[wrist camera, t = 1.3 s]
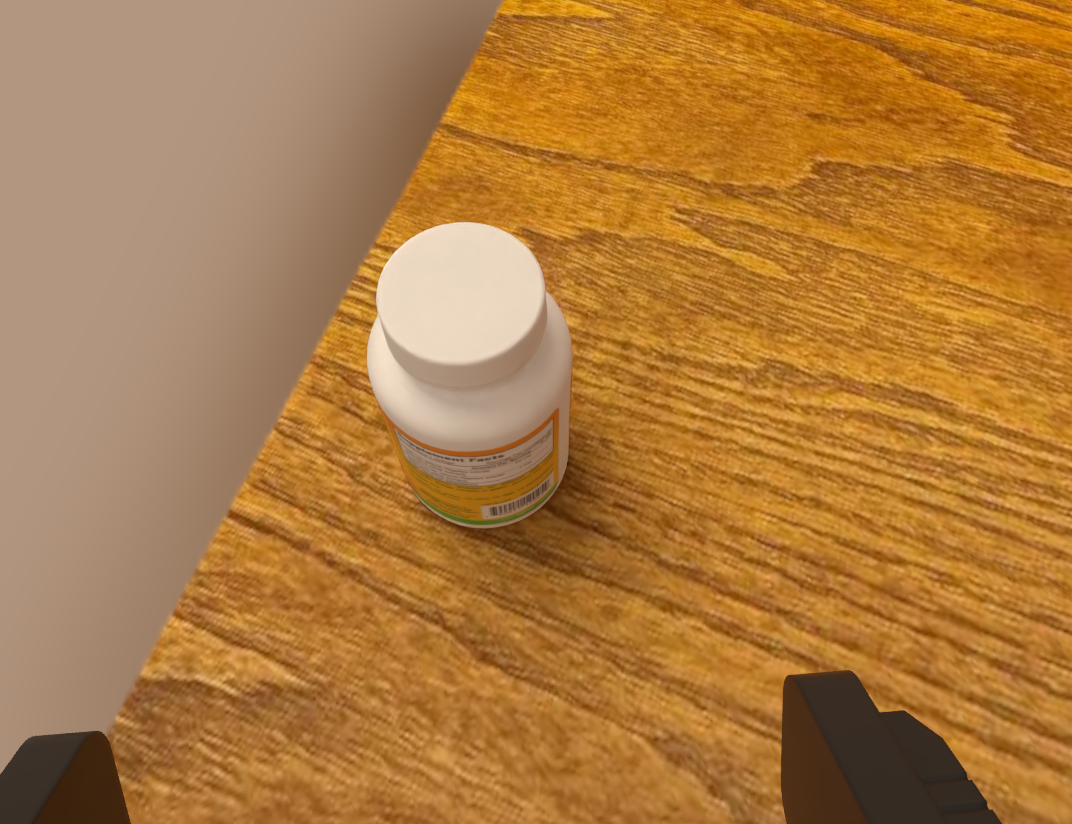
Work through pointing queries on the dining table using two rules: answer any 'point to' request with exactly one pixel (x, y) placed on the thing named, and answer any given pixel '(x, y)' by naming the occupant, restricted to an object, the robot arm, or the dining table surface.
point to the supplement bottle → (472, 374)
